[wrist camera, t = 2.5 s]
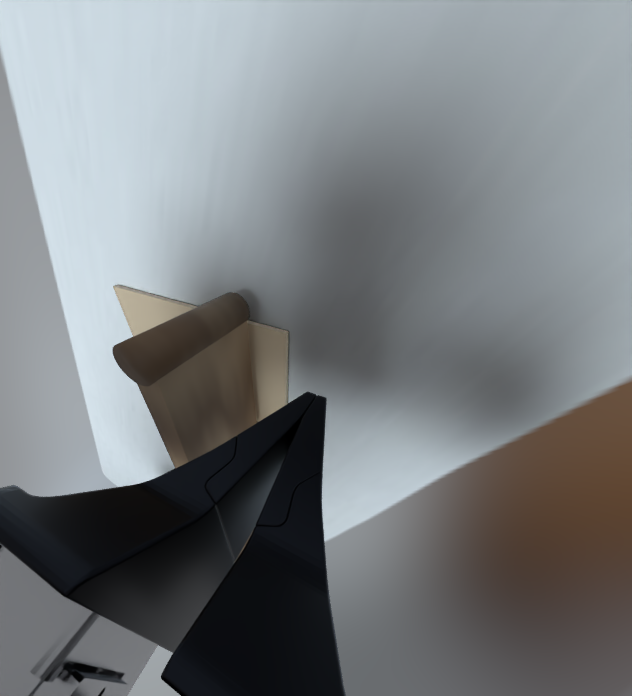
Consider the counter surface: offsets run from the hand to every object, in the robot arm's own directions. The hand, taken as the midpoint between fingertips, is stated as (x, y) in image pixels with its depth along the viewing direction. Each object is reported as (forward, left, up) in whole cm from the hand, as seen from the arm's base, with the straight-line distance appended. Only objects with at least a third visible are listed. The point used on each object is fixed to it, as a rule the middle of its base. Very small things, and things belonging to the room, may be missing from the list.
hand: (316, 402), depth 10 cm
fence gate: (-2, +5, -2) cm, 6 cm away
